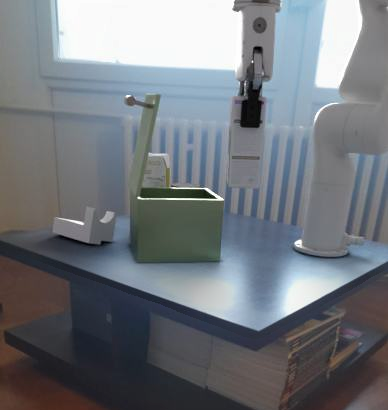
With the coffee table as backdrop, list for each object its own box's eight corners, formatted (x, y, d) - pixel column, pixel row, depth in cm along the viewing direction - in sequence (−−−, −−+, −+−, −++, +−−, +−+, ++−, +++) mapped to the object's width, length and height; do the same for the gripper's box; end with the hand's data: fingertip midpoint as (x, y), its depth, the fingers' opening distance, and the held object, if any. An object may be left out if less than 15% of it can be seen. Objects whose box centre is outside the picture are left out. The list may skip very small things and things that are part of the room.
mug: (182, 228, 132) (183, 189, 128) (158, 223, 136) (159, 185, 132) (204, 222, 140) (206, 185, 136) (181, 217, 144) (182, 181, 140)
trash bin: (203, 243, 120) (207, 188, 114) (219, 261, 107) (224, 200, 101) (130, 244, 116) (129, 186, 110) (137, 262, 103) (137, 199, 97)
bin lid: (149, 95, 103) (124, 87, 101) (161, 95, 90) (131, 86, 89) (131, 185, 110) (107, 179, 108) (139, 197, 97) (111, 190, 96)
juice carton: (162, 239, 121) (164, 156, 113) (128, 235, 123) (128, 153, 115) (170, 232, 128) (173, 153, 120) (138, 229, 129) (138, 150, 121)
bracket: (111, 246, 117) (117, 213, 115) (88, 243, 111) (94, 208, 110) (75, 235, 124) (80, 204, 122) (52, 232, 118) (56, 199, 117)
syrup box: (260, 189, 87) (269, 96, 81) (226, 187, 87) (232, 94, 81) (256, 183, 92) (264, 96, 86) (224, 182, 92) (230, 94, 86)
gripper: (293, -10, 70) (278, 130, 78) (270, 9, 85) (260, 124, 93) (240, -13, 69) (230, 128, 77) (227, 6, 85) (220, 123, 93)
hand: (246, 125), depth 85 cm, fingers closed on syrup box, 5 cm apart
